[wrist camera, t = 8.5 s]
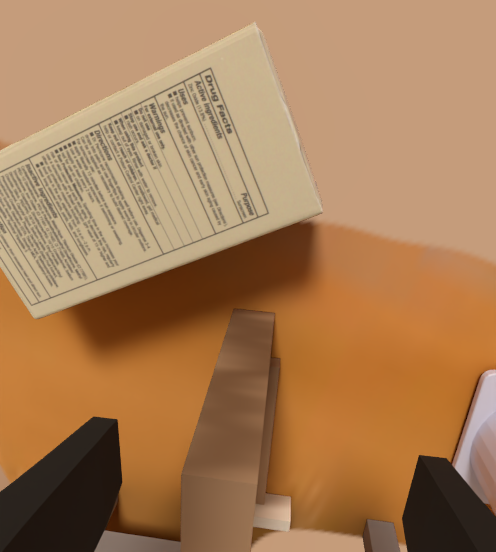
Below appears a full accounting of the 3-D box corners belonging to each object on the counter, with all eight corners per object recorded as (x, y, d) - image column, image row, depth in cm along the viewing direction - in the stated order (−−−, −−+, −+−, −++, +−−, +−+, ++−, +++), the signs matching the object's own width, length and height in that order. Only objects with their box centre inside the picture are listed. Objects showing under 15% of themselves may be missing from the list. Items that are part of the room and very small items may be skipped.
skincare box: (82, 284, 21) (321, 199, 18) (30, 324, 16) (329, 223, 14) (13, 157, 19) (270, 41, 16) (-64, 169, 15) (261, 15, 12)
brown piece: (316, 317, 20) (335, 495, 11) (289, 506, 24) (285, 745, 15) (193, 304, 20) (107, 463, 11) (189, 492, 25) (126, 716, 16)
